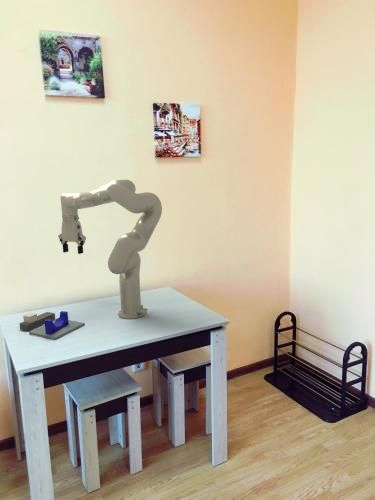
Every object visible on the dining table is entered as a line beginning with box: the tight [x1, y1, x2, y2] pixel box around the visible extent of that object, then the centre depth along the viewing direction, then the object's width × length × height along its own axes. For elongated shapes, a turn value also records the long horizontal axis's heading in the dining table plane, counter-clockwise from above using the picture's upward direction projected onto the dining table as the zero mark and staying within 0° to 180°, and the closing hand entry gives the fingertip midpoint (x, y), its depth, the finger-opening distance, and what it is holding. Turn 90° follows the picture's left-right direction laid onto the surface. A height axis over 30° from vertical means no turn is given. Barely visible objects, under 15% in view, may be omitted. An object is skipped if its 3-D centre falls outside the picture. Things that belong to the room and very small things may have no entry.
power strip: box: [19, 311, 56, 332], centre depth 189 cm, size 5×16×6 cm, turn 152°
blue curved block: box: [44, 310, 69, 335], centre depth 180 cm, size 12×4×6 cm, turn 160°
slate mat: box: [28, 319, 86, 341], centre depth 183 cm, size 15×18×1 cm
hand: (73, 252), depth 207 cm, fingers open, 9 cm apart
